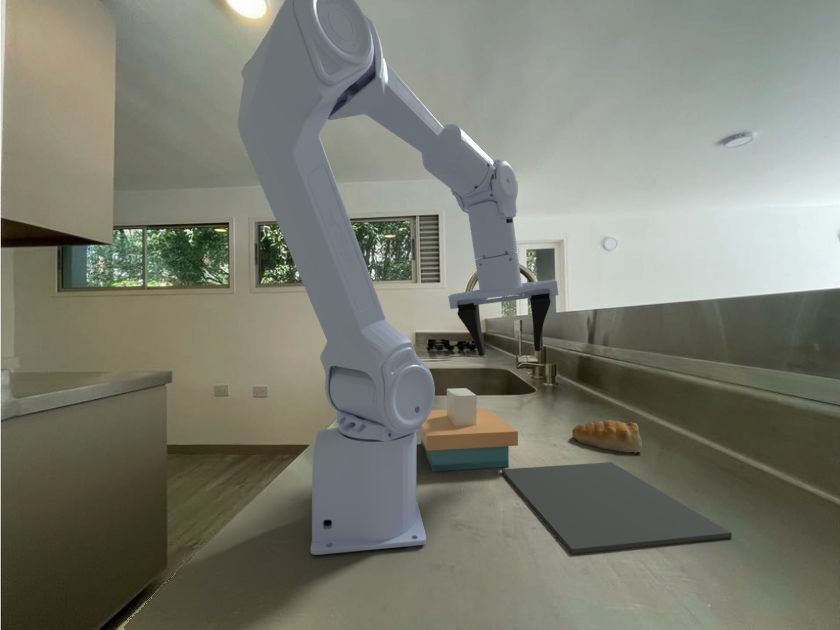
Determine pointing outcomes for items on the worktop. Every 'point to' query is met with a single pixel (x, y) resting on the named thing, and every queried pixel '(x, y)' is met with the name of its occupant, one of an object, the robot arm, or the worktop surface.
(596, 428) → the pastry
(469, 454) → the box
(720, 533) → the mat
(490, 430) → the lid
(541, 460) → the worktop surface
